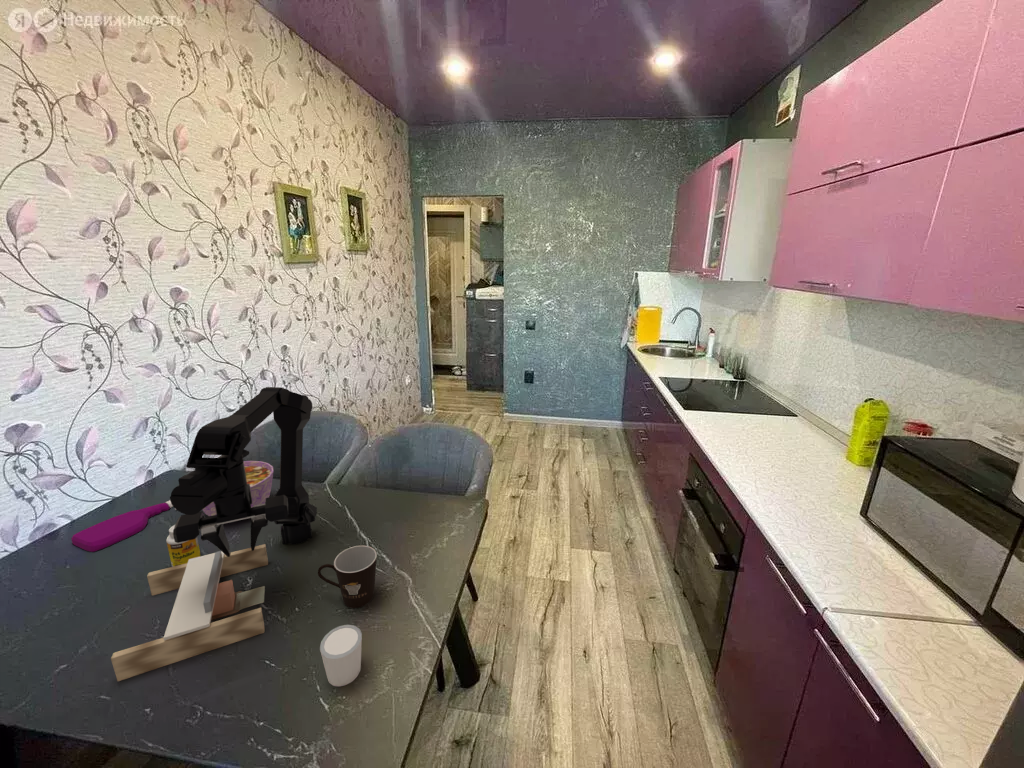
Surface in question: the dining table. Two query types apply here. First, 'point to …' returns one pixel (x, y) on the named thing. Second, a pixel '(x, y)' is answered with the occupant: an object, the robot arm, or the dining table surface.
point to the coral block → (224, 598)
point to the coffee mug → (354, 575)
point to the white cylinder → (342, 654)
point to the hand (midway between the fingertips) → (241, 552)
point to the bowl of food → (253, 483)
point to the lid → (195, 595)
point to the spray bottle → (117, 528)
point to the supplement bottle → (181, 549)
